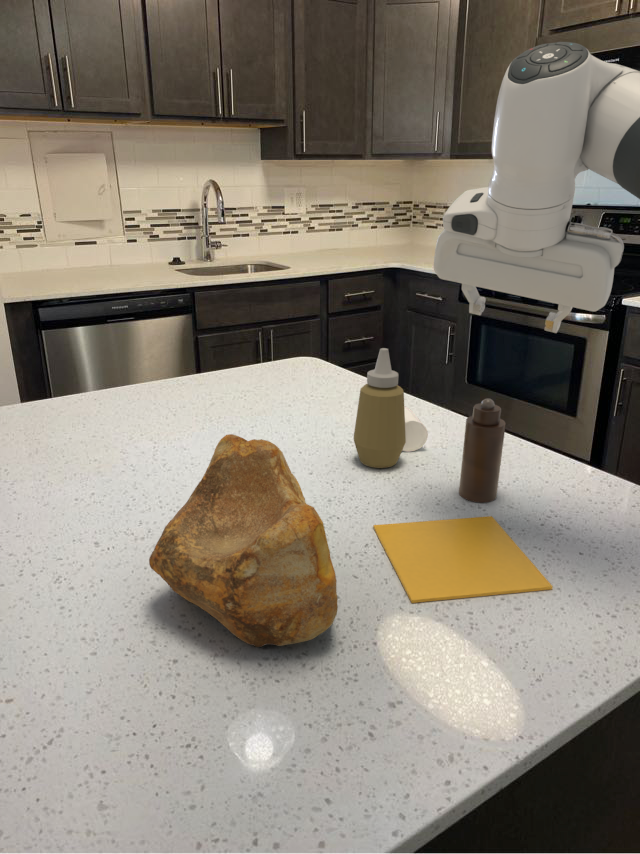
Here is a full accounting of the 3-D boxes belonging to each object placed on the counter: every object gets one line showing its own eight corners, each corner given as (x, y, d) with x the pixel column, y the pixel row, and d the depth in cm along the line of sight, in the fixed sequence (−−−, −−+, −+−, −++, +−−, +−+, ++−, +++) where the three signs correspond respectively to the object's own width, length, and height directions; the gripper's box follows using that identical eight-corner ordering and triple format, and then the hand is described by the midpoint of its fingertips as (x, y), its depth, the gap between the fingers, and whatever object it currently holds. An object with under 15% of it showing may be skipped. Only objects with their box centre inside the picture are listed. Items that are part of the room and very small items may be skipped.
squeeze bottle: (360, 474, 99) (364, 357, 93) (346, 453, 106) (350, 343, 100) (411, 470, 101) (419, 355, 94) (395, 449, 108) (401, 341, 102)
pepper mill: (487, 485, 96) (498, 392, 91) (502, 501, 92) (515, 404, 86) (453, 487, 95) (462, 393, 90) (467, 504, 91) (477, 406, 86)
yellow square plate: (491, 518, 87) (491, 515, 87) (552, 589, 72) (552, 586, 72) (373, 527, 84) (373, 525, 84) (411, 603, 69) (411, 600, 69)
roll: (405, 424, 119) (407, 395, 117) (427, 450, 108) (429, 418, 106) (372, 426, 118) (374, 396, 116) (391, 452, 107) (393, 420, 105)
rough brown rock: (145, 559, 78) (123, 445, 72) (280, 525, 83) (270, 416, 77) (180, 703, 58) (153, 562, 52) (354, 647, 63) (349, 512, 57)
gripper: (634, 218, 70) (607, 325, 79) (451, 189, 78) (446, 290, 88) (620, 246, 66) (593, 356, 76) (429, 214, 74) (427, 315, 84)
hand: (513, 320), depth 82 cm, fingers open, 8 cm apart
